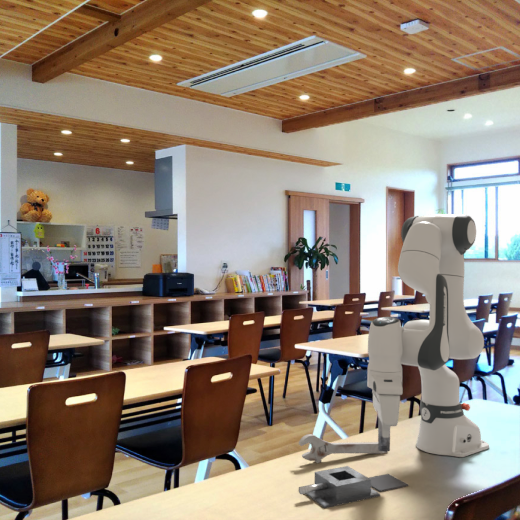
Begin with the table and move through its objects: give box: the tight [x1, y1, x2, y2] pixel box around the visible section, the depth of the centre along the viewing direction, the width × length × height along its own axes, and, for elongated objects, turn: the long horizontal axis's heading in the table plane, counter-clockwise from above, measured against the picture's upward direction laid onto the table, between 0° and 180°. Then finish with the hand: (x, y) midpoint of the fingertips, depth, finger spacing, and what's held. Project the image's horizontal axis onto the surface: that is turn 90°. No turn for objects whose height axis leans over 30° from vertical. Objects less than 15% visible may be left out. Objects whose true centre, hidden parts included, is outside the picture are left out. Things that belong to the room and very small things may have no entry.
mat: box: [368, 473, 409, 493], centre depth 150 cm, size 9×8×1 cm
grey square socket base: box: [298, 465, 381, 509], centre depth 143 cm, size 19×12×4 cm, turn 116°
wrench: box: [298, 433, 387, 464], centre depth 169 cm, size 8×2×30 cm
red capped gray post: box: [376, 411, 391, 453], centre depth 149 cm, size 4×4×10 cm
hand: (384, 434), depth 149 cm, fingers closed on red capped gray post, 3 cm apart
